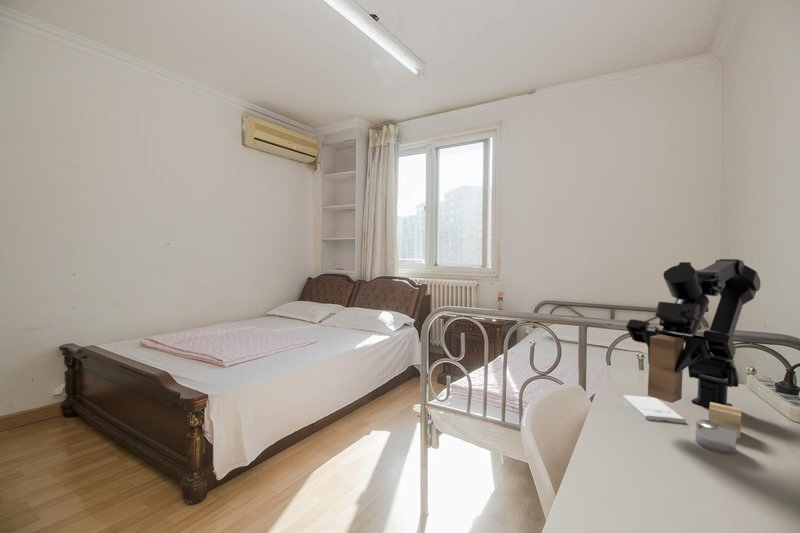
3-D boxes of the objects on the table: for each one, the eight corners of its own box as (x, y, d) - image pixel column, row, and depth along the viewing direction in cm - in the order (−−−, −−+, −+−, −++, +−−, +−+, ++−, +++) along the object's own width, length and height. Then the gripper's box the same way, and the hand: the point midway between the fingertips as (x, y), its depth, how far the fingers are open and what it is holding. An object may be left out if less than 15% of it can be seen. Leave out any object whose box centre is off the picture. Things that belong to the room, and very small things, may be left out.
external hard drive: (657, 404, 92) (685, 425, 79) (622, 400, 93) (645, 421, 81) (657, 397, 92) (686, 418, 79) (622, 394, 93) (645, 414, 81)
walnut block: (657, 391, 79) (659, 334, 79) (681, 398, 76) (684, 338, 75) (647, 395, 77) (650, 336, 77) (672, 403, 73) (674, 340, 73)
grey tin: (702, 436, 74) (703, 417, 74) (740, 449, 69) (741, 429, 69) (690, 443, 71) (690, 423, 71) (729, 458, 66) (730, 437, 65)
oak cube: (709, 423, 80) (710, 401, 80) (739, 431, 76) (741, 408, 76) (708, 431, 76) (709, 408, 76) (740, 439, 73) (741, 415, 73)
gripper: (631, 285, 86) (604, 335, 80) (733, 293, 70) (708, 355, 64) (645, 315, 90) (621, 364, 85) (744, 329, 74) (722, 390, 69)
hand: (662, 367), depth 75 cm, fingers closed on walnut block, 4 cm apart
